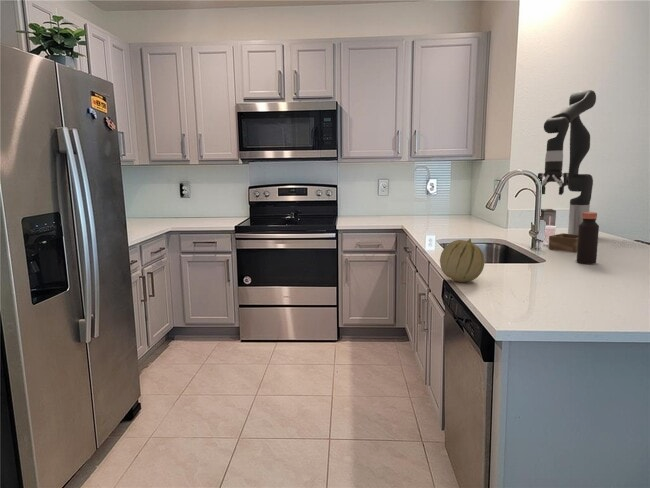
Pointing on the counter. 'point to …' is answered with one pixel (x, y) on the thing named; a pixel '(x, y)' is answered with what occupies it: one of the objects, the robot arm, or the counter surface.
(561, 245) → the wooden square frame
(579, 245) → the bottle
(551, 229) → the beverage cup
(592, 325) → the counter surface
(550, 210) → the coffee box
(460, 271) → the cantaloupe
